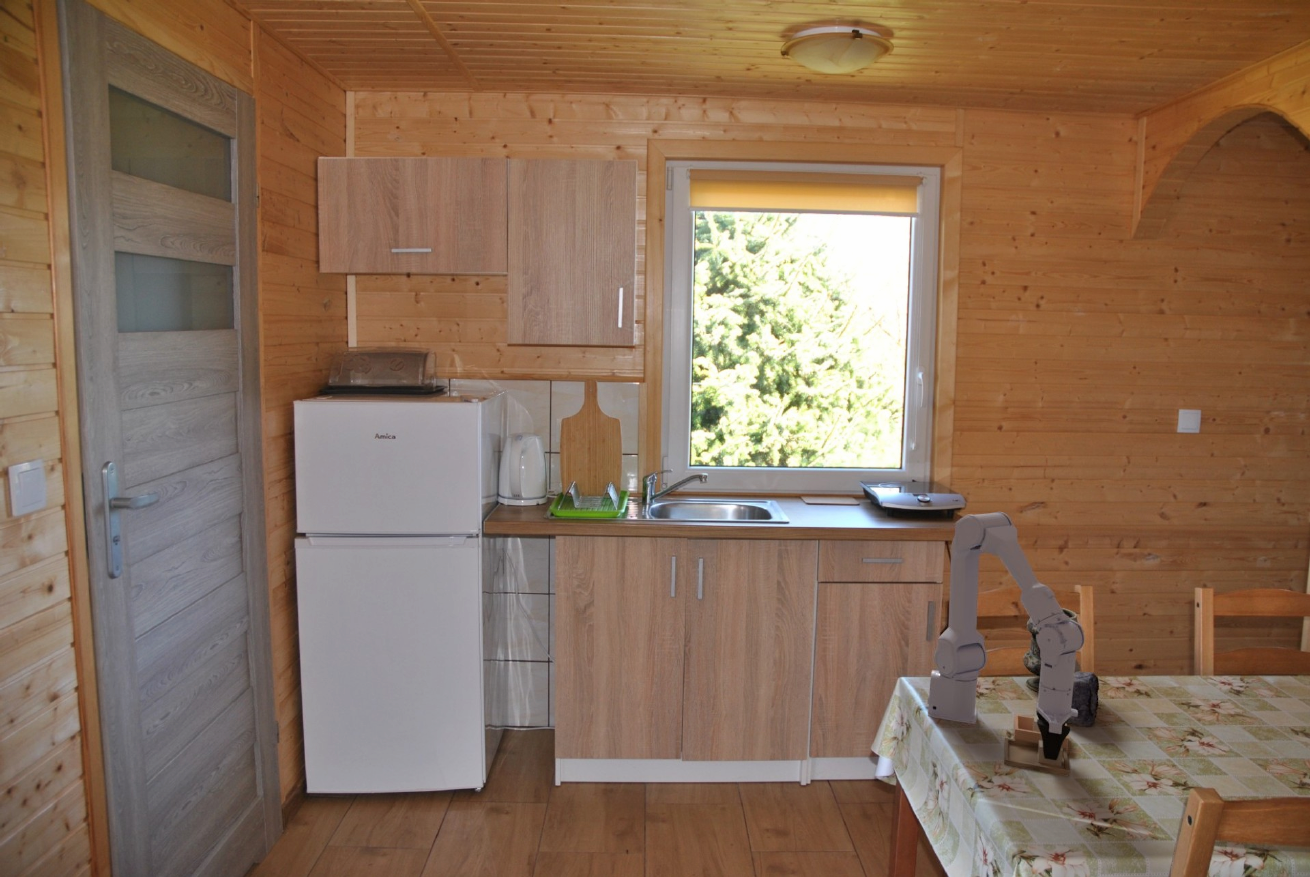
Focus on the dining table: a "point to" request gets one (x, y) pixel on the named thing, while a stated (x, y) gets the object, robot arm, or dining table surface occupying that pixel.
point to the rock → (1084, 698)
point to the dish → (1030, 731)
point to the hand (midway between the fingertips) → (1049, 754)
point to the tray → (1031, 757)
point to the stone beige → (1049, 761)
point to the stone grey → (1035, 724)
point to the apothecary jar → (1033, 655)
